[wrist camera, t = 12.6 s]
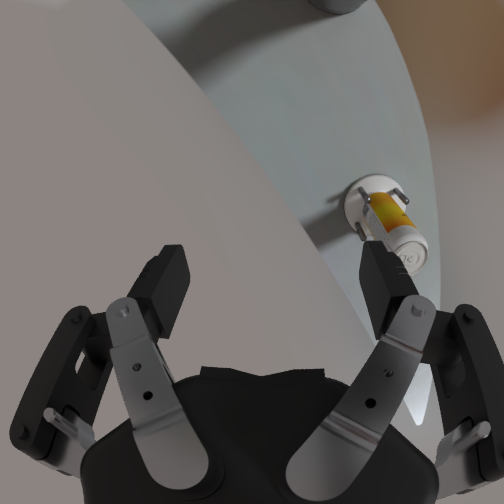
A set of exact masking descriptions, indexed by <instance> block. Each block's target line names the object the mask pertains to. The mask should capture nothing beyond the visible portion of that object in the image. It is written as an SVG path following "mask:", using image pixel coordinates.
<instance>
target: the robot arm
mask: <svg viewBox="0 0 504 504" xmlns="http://www.w3.org/2000/svg"><path fill="white" fill-rule="evenodd" d="M308 1H310V2H311V3H312V4H313V5H314V6H316V7H317V8H319V9H321V10H323V11H326V12H329V13H334V14H345V13H350V12H352V11H355V10H356V9H357V8H359V7H360V6H361V5H362V4H363V3H365V2H366V1H367V0H308ZM359 280H360V285H361V288H362V291H363V295H364V298H365V301H366V305H367V308H368V312H369V315H370V319H371V323H372V326H373V330H374V334H375V338H376V340H379V342H378V344H377V345H376V347H375V349H374V350H373V352H372V354H371V355H370V357H369V359H368V360H367V362H366V363H365V365H364V366H363V368H362V369H361V371H360V373H359V374H358V376H357V377H356V379H355V380H354V382H353V383H352V384H351V386H348V385H346V384H344V383H342V382H340V381H337V380H334V379H331V378H327V377H325V373H324V369H294V370H289V371H285V372H281V373H276V374H271V375H266V376H257V375H253V374H250V373H246V372H242V371H238V370H235V369H231V368H217V367H204V366H202V367H201V371H200V375H195V376H191V377H188V378H185V379H182V380H180V381H178V382H175V380H174V378H173V376H172V374H171V372H170V370H169V368H168V366H167V364H166V361H165V359H164V357H163V355H162V353H161V351H160V348H159V346H158V345H157V342H158V339H159V338H165V339H169V337H170V334H171V331H172V328H173V326H174V323H175V320H176V318H177V315H178V313H179V310H180V308H181V305H182V302H183V300H184V297H185V295H186V292H187V289H188V287H189V283H190V272H189V268H188V264H187V260H186V256H185V252H184V249H183V247H182V245H165V246H164V247H163V249H162V250H161V252H160V254H159V255H158V256H154V257H153V258H152V259H151V260H150V261H148V262H147V264H146V265H145V267H144V268H143V271H142V272H141V273H140V275H139V278H137V280H136V281H135V283H134V285H133V286H132V288H131V290H130V292H129V293H128V295H127V297H124V298H120V299H118V300H116V301H114V302H113V303H111V304H110V305H109V307H108V308H107V310H106V312H103V313H97V314H91V312H90V310H89V309H88V308H87V307H86V306H77V307H74V308H72V309H71V310H70V311H68V312H67V314H66V315H65V316H64V318H63V319H62V321H61V323H60V325H59V326H58V328H57V330H56V331H55V333H54V335H53V337H52V338H51V340H50V342H49V344H48V346H47V348H46V350H45V351H44V353H43V355H42V357H41V359H40V361H39V363H38V365H37V367H36V369H35V371H34V373H33V375H32V377H31V379H30V381H29V383H28V386H27V388H26V390H25V392H24V394H23V397H22V399H21V401H20V404H19V406H18V408H17V411H16V413H15V416H14V419H13V421H12V424H11V427H10V433H9V435H10V440H11V442H12V444H13V446H14V447H15V448H17V449H18V450H20V451H22V452H23V453H25V454H27V455H28V456H30V457H31V458H32V459H34V460H36V461H37V462H39V463H41V464H43V465H45V466H47V467H48V468H50V469H53V470H56V471H58V472H61V473H63V474H65V475H68V476H72V475H73V476H75V477H77V478H80V479H81V484H82V488H83V494H84V504H435V501H436V500H438V499H441V498H444V497H447V496H450V495H453V494H465V493H467V492H470V491H473V490H475V489H478V488H480V487H483V486H485V485H488V484H490V483H492V482H494V481H497V480H499V479H501V478H503V477H504V364H503V361H502V359H501V356H500V354H499V351H498V349H497V346H496V344H495V342H494V339H493V337H492V335H491V333H490V330H489V328H488V326H487V324H486V322H485V320H484V318H483V316H482V314H481V312H480V311H479V310H478V309H477V308H475V307H474V306H472V305H469V304H461V305H459V306H457V307H456V309H455V311H454V313H449V312H443V311H438V310H436V308H435V306H434V304H433V303H432V302H431V301H430V300H429V299H427V298H425V297H423V296H420V295H419V293H418V291H417V289H416V287H415V285H414V283H413V281H412V279H411V277H410V275H409V274H408V271H407V269H406V268H405V266H404V264H403V262H402V260H401V258H400V257H398V256H397V255H396V254H395V253H394V252H388V251H387V249H386V247H385V245H384V244H383V242H382V241H381V240H378V241H365V242H364V245H363V251H362V257H361V263H360V269H359ZM81 351H82V352H83V353H84V354H85V357H84V359H83V362H82V364H81V366H80V368H79V370H78V373H77V374H76V371H75V365H76V362H77V360H78V358H79V356H80V353H81ZM419 363H425V364H430V367H431V371H432V375H433V379H434V383H435V387H436V391H437V396H438V401H439V406H440V411H441V417H442V423H443V428H444V436H445V437H443V438H442V440H441V441H440V443H439V445H438V448H437V455H436V461H435V464H433V463H432V462H431V460H430V459H428V458H427V457H426V456H425V455H424V454H423V453H422V452H421V451H419V449H417V448H416V447H415V446H414V445H413V444H412V443H411V442H410V441H409V440H408V439H406V438H405V437H404V436H403V435H402V434H401V433H400V432H399V431H398V430H397V429H396V428H394V427H393V426H392V425H391V424H390V422H391V420H392V418H393V416H394V415H395V413H396V411H397V409H398V407H399V405H400V403H401V401H402V399H403V397H404V395H405V393H406V391H407V389H408V387H409V385H410V383H411V381H412V379H413V377H414V374H415V372H416V370H417V368H418V365H419ZM113 366H114V369H115V373H116V377H117V380H118V383H119V387H120V390H121V393H122V396H123V399H124V402H125V405H126V408H127V411H128V414H129V417H130V418H129V419H127V420H126V421H125V422H123V423H122V424H120V425H119V426H118V427H116V428H115V429H114V430H112V431H111V432H110V433H108V434H107V435H105V436H104V437H103V438H101V439H100V440H99V441H97V442H96V440H95V439H94V438H95V437H94V431H93V429H92V425H93V423H94V419H95V416H96V413H97V410H98V407H99V404H100V401H101V398H102V395H103V393H104V390H105V387H106V384H107V381H108V379H109V376H110V373H111V370H112V368H113Z"/></svg>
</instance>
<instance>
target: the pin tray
mask: <svg viewBox="0 0 504 504" xmlns="http://www.w3.org/2000/svg"><path fill="white" fill-rule="evenodd" d="M376 192H384V193H387V194H389V195H390V196H391V197H392V198H393V199H394V200H395V202H396V203H397V204H398V205H399V207H400V208H401V209H402V210H403V211H404V212H405V207H406V205H407V204H408V203H409V199H408V198H407V197H406V196H405V195H404V192H403V190H402V188H401V187H400V186H399V185H398V184H397V183H396V182H395V181H394V180H393V179H392V178H390V177H388V176H386V175H382V174H371V175H367V176H364V177H362V178H360V179H359V180H357V181H356V182H355V183H354V184H353V185H352V186H351V187H350V189H349V190H348V192H347V194H346V197H345V201H344V211H345V215H346V218H347V220H348V222H349V224H350V225H351V227H352V228H353V229H354V230H355V231H357V232H358V234H359V237H360V239H361V241H365V240H366V239H367V237H366V236H372V234H371V232H370V230H369V228H368V226H367V224H366V222H365V220H364V218H363V216H362V205H363V203H364V201H365V203H367V204H370V203H371V198H370V197H369V196H370V195H371V194H373V193H376Z"/></svg>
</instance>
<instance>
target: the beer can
mask: <svg viewBox="0 0 504 504" xmlns="http://www.w3.org/2000/svg"><path fill="white" fill-rule="evenodd" d="M369 197H370V198H371V203H370V204H367V203H365V201H364V203H363V205H362V216H363V218H364V220H365V222H366V224H367V226H368V228H369V230H370V232H371V234H372V236H373V238H374V240H375V241H378V240H381V241H382V242H383V244H384V245H385V247H386V249H387V251H388V252H394V253H395V254H396V255H397V256H398V257H400V258H401V260H402V262H403V264H404V266H405V268H406V269H407V271H408V274H409V275H410V276H413V275H415V274H417V273H418V272H419V271H421V270H422V269H423V267H424V266H425V265H426V263H427V260H428V255H429V254H428V246H427V242H426V240H425V239H424V238H423V236H422V235H421V234H420V232H419V231H418V230H417V228H416V227H415V226H414V224H413V223H412V222H411V220H410V219H409V218H408V217H407V215H406V214H405V213H404V211H403V210H402V209H401V208H400V207H399V205H398V204H397V203H396V202H395V200H394V199H393V198H392V197H391V196H390V195H389V194H387V193H384V192H376V193H373V194H371V195H370V196H369Z"/></svg>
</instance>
